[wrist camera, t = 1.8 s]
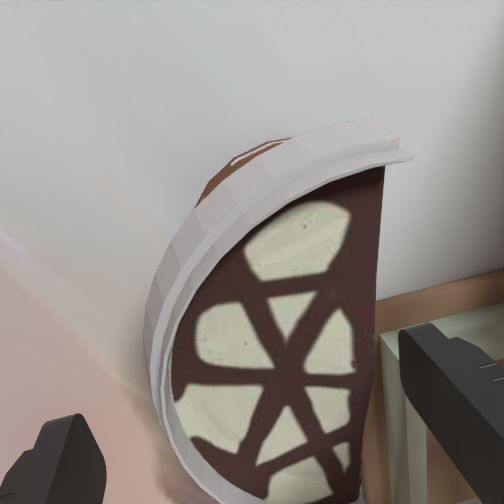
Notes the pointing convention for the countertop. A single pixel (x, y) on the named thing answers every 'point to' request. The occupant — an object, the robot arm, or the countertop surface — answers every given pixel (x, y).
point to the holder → (399, 407)
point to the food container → (274, 319)
